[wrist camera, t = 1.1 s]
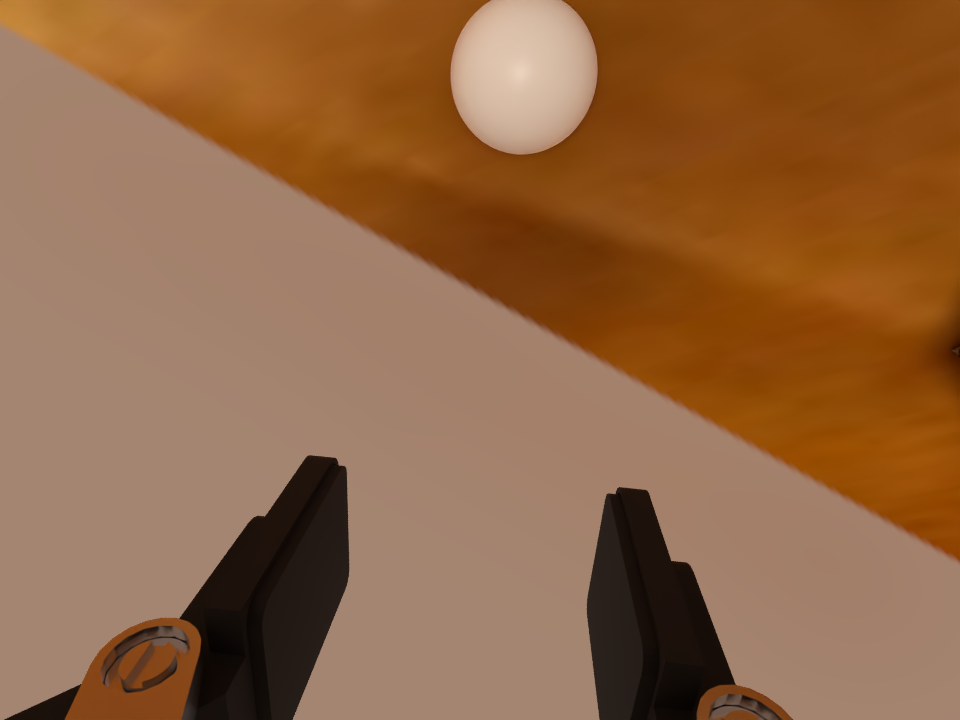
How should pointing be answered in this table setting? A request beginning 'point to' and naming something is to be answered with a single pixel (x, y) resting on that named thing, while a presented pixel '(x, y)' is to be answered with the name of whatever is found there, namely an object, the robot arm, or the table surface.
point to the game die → (956, 351)
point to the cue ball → (524, 74)
